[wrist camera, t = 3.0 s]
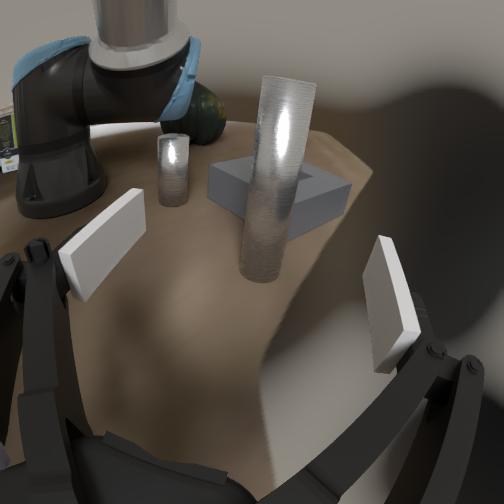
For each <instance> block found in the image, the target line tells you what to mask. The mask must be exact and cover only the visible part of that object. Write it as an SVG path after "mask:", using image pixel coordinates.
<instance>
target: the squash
mask: <svg viewBox="0 0 504 504" xmlns="http://www.w3.org/2000/svg"><path fill="white" fill-rule="evenodd" d="M226 118H227V114H226V109H225V106H224V104H223V102H222V101H221V99H219V97H217V96H216V95H215V94H214V93H213V92H211V91H210V90H209V89H207V88H206V87H204V86H203V85H201V84H200V83H198V82H196V81H195V82H194V88H193V93H192V97H191V101H190V105H189V108H188V110H187V112H186V114H185V115H184V116H183V117H182V118H180V119H177V120H166V121H160V125H161V128H162V131H163V133H164V134H171V133H178V134H185V135H188V136H189V141H193V140H194V141H195V142H196V143H197V144H200V145H204V144H207V143H209V142H210V141H213V140H215V139H217V138H218V137H219V136H220V135H221V134H222V132H223V130H224V127H225V125H226Z"/></svg>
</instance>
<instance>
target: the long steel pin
mask: <svg viewBox="0 0 504 504" xmlns="http://www.w3.org/2000/svg"><path fill="white" fill-rule="evenodd" d="M315 90H316V84H314V83H310V82H305V81H300V80H294V79H288V78H281V77H273V76H263V81H262V89H261V97H260V104H259V112H258V119H257V127H256V135H255V143H254V151H253V159H252V167H251V175H250V183H249V191H248V199H247V208H246V216H245V224H244V233H243V241H242V250H241V258H240V267H239V269H240V272H241V274H242V275H243V276H244V277H245V278H247V279H248V280H251V281H253V282H258V283H267V282H271V281H273V280H275V279H276V278H277V277H278V276H279V273H280V268H281V264H282V259H283V255H284V250H285V245H286V241H287V236H288V231H289V227H290V222H291V217H292V212H293V207H294V202H295V197H296V192H297V187H298V182H299V177H300V172H301V167H302V162H303V157H304V151H305V146H306V141H307V135H308V130H309V124H310V118H311V113H312V107H313V102H314V96H315Z"/></svg>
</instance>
